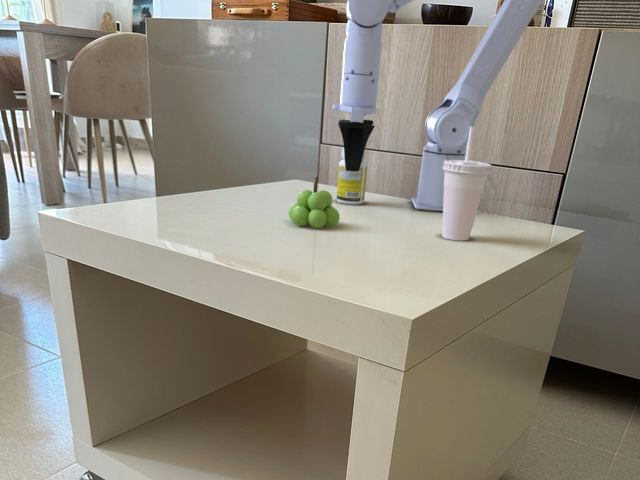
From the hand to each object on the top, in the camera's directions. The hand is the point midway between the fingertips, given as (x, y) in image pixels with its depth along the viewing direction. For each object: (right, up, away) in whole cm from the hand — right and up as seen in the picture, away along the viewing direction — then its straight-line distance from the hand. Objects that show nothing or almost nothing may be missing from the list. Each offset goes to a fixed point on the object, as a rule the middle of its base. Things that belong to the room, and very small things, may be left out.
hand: (352, 168), depth 104 cm
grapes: (-6, -15, -16) cm, 22 cm away
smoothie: (+14, -17, -17) cm, 28 cm away
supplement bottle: (0, -5, +3) cm, 6 cm away
